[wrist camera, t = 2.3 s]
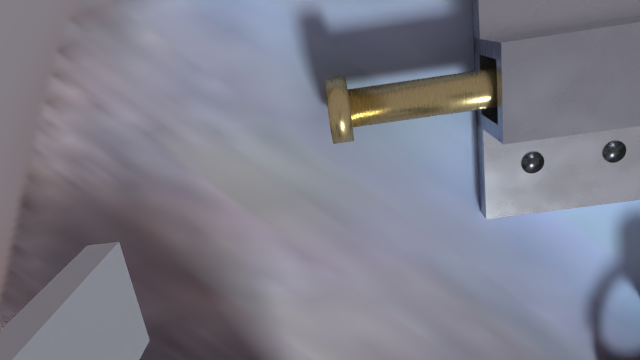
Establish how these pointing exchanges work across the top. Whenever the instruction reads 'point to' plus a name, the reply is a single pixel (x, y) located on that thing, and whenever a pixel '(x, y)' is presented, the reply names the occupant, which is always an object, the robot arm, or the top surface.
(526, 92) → the hinge
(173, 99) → the top surface
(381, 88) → the pin
